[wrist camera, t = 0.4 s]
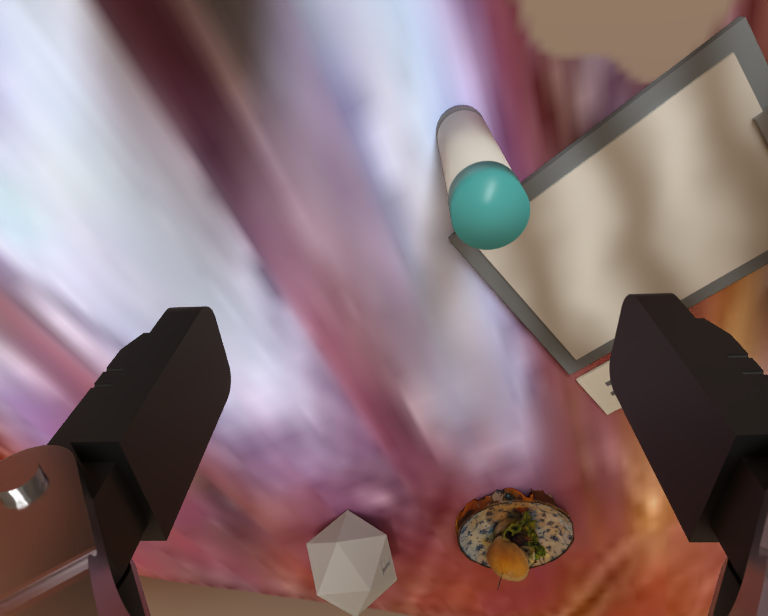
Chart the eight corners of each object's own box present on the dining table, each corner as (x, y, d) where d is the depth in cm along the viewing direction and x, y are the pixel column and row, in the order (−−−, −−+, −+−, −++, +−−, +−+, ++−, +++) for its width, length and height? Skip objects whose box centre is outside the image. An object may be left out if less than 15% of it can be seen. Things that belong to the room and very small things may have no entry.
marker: (465, 92, 30) (500, 159, 19) (495, 132, 32) (545, 218, 20) (425, 128, 32) (435, 211, 20) (455, 165, 33) (482, 263, 21)
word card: (575, 378, 42) (576, 381, 42) (669, 326, 39) (670, 328, 39) (606, 413, 44) (607, 415, 44) (697, 366, 41) (699, 368, 41)
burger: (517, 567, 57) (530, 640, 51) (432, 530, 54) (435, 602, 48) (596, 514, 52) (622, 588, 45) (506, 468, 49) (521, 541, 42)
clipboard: (739, 16, 28) (751, 17, 27) (834, 218, 34) (848, 225, 33) (448, 237, 36) (449, 244, 35) (568, 370, 41) (572, 380, 40)
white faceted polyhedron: (379, 553, 57) (420, 606, 49) (307, 589, 54) (336, 652, 45) (363, 487, 56) (402, 530, 47) (288, 520, 53) (315, 572, 44)
